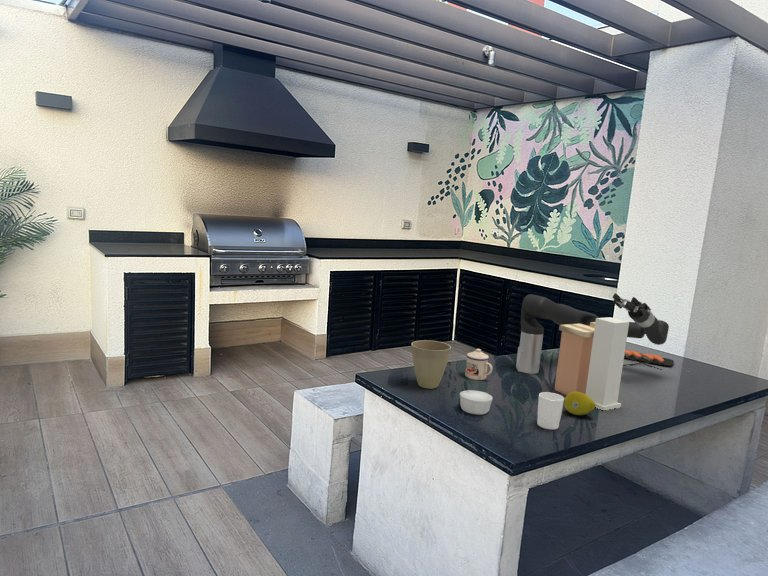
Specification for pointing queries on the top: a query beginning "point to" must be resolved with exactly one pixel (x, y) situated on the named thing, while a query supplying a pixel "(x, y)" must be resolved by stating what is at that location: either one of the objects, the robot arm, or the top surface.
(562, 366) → the tall open box
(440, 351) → the plant pot
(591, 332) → the tan t-shaped block
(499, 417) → the top surface
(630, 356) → the sushi plate
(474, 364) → the teacup with lid
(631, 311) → the robot arm
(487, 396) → the ramekin
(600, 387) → the pedestal
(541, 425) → the white cup
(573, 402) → the lemon
